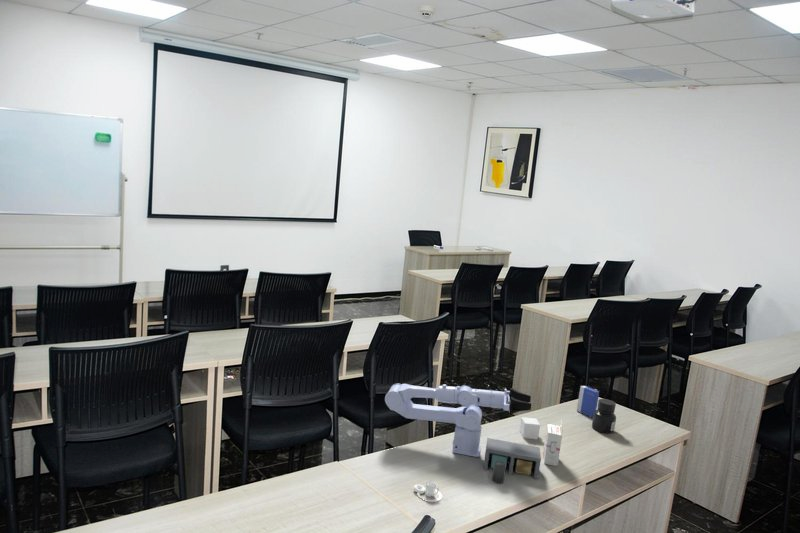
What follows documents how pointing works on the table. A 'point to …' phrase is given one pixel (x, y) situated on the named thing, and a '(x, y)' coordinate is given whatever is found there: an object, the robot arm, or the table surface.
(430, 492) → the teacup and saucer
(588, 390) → the walkman
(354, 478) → the table surface
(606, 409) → the ink bottle
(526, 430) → the white cube
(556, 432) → the ink cartridge box
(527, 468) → the ochre block
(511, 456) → the cubby shelf
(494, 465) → the block
